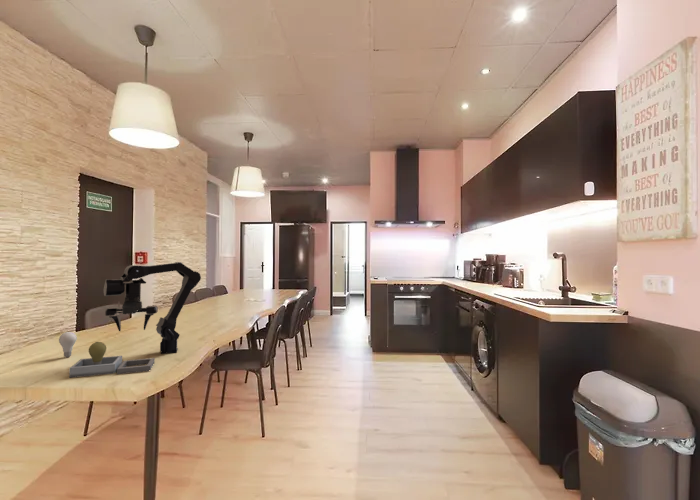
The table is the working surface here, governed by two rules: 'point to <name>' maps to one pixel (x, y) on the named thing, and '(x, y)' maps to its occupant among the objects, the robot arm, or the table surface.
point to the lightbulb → (67, 342)
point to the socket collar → (123, 369)
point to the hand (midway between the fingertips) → (132, 330)
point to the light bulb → (97, 352)
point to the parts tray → (95, 367)
